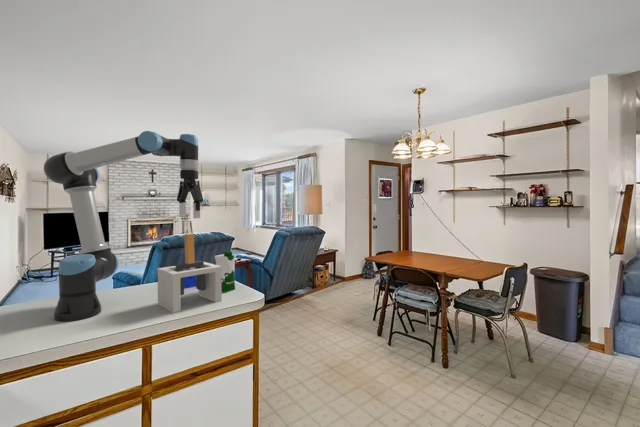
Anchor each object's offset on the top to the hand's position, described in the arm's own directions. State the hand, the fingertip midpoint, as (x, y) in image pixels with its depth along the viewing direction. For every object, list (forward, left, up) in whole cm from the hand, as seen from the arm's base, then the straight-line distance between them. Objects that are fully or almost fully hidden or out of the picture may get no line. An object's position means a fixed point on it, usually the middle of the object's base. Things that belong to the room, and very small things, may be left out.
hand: (189, 217), depth 144 cm
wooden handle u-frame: (0, 0, -33) cm, 33 cm away
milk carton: (+22, +7, -39) cm, 45 cm away
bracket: (+17, +28, -39) cm, 51 cm away
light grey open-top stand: (0, 0, -38) cm, 39 cm away
